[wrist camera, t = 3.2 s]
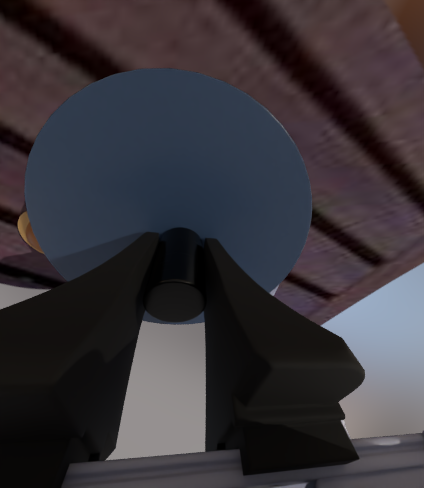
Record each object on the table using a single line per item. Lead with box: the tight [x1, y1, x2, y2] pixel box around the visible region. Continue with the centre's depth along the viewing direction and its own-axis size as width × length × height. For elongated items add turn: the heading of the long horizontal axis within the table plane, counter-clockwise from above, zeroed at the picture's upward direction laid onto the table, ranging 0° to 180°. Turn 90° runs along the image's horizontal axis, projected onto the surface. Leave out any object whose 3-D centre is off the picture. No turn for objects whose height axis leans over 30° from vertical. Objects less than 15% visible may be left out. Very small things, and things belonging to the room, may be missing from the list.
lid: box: [25, 68, 312, 324], centre depth 9 cm, size 15×15×5 cm
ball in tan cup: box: [18, 211, 44, 254], centre depth 17 cm, size 5×5×4 cm
